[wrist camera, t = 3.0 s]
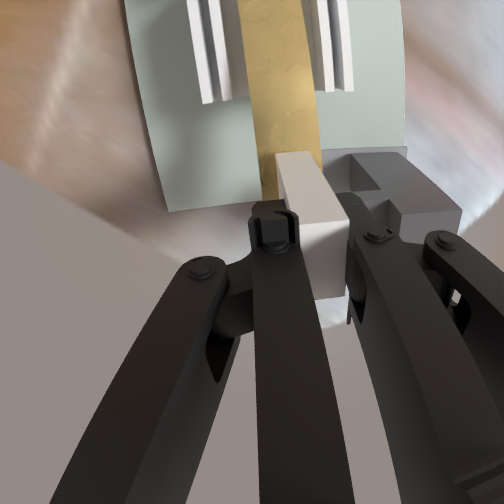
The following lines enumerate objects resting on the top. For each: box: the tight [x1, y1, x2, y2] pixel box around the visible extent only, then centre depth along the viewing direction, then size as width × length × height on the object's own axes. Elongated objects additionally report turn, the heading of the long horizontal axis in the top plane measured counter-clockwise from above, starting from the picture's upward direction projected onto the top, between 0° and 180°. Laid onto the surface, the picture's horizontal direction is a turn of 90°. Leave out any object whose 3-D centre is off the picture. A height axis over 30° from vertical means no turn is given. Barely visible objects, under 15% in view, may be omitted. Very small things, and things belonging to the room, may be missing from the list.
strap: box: [237, 0, 323, 201], centre depth 13 cm, size 19×4×1 cm, turn 8°
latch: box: [350, 152, 462, 244], centre depth 20 cm, size 3×8×10 cm, turn 97°
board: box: [124, 0, 407, 212], centre depth 17 cm, size 22×20×8 cm
